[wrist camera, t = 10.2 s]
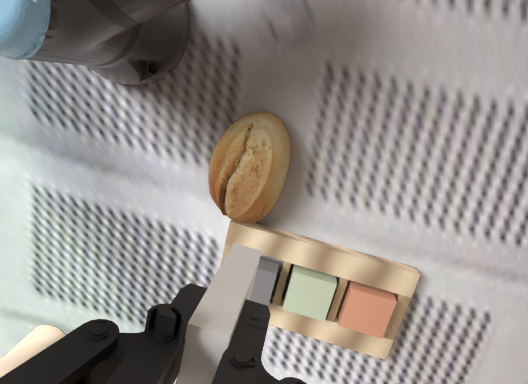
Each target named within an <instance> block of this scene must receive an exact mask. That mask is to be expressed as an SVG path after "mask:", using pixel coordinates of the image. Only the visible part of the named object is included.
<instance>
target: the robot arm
mask: <svg viewBox="0 0 528 384" xmlns="http://www.w3.org/2000/svg"><path fill="white" fill-rule="evenodd" d="M188 1H190V0H0V56H3V57H6V58H8V59H14V60H23V59H28V60H38V61H47V62H57V63H67V64H76V65H86V66H88V67H89V68H91V69H92V70H93V71H95V72H96V73H98V74H99V75H101V76H102V77H104V78H106V79H108V80H111V81H114V82H117V83H121V84H127V85H144V84H150V83H153V82H155V81H158V80H160V79H162V78H163V77H165V76H166V75H167V74H169V73H170V72H171V71H172V70H173V69H174V68H175V66H176V65H177V64H178V62H179V61H180V59H181V57H182V55H183V53H184V51H185V48H186V45H187V41H188V35H189V15H188V9H187V5H186V2H188ZM261 253H262V251H260V250H257V249H253V248H250V247H246V246H243V245H239V244H236V243H234V244H233V245H232V247H231V249H230V251H229V252H228V254H227V256H226V258H225V259H224V261H223V263H222V264H221V266H220V268H219V270H218V271H217V273H216V275H215V277H214V278H213V280H212V282H211V284H210V285H209V287H208V289H207V288H204V287H201V286H197V285H194V284H191V283H190V284H188V285H187V286H185V287H183V288H181V290H180V291H179V293H178V294H177V295H176V297H175V298H174V300H173V301H172V303H171V304H158V305H156V306H153V307H152V308H150V309H149V310H148V313H147V320H146V326H145V330H144V332H140V333H119V328H118V326H117V325H116V324H115V323H114V322H112V321H109V320H106V319H97V320H91V321H89V322H87V323H84V324H83V325H81V326H80V327H78V328H76V329H75V330H73V331H72V332H70V333H69V334H67V335H66V336H64V337H62V338H61V339H59V340H58V341H56V342H55V343H53V344H52V345H50V346H49V347H47V348H45V349H44V350H42V351H41V352H39V353H38V354H36V355H35V356H33V357H32V358H30V359H28V360H27V361H25V362H24V363H22V364H21V365H19V366H18V367H16V368H15V369H13V370H11V371H10V372H8V373H7V374H5V375H4V376H2V377H1V378H0V384H173V383H174V381H175V379H176V377H177V380H176V384H307V383H305V382H303V381H302V380H300V379H297V378H293V377H287V378H284V379H282V380H280V381H279V380H277V379H276V378H274V377H273V376H271V375H270V374H269V373H268V372H267V371H266V370H265V369H264V367H263V365H262V362H261V354H262V350H263V346H264V341H265V337H266V333H267V328H268V324H269V320H270V315H271V314H270V311H269V308H268V306H267V305H264V304H260V303H257V302H254V301H250V300H249V299H250V296H251V292H252V288H253V284H254V280H255V277H256V273H257V269H258V265H259V261H260V257H261Z"/></svg>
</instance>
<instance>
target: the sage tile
mask: <svg viewBox="0 0 528 384" xmlns="http://www.w3.org/2000/svg"><path fill="white" fill-rule="evenodd" d="M336 286H337V280H336V276H333V275H330V274H326V273H323V272H319V271H316V270H312V269H309V268H305V267H302V266H298V265H295V264H294V266H293V269H292V273H291V276H290V280H289V283H288V287H287V290H286V294H285V297H284V303H283V308H282V309H284V310H287V311H290V312H294V313H297V314H300V315H304V316H307V317H310V318H314V319H317V320H320V321H324V322H325V319H326V316H327V313H328V310H329V307H330V304H331V301H332V298H333V295H334V292H335V289H336Z"/></svg>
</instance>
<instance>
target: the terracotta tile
mask: <svg viewBox="0 0 528 384" xmlns="http://www.w3.org/2000/svg"><path fill="white" fill-rule="evenodd" d="M396 303H397V301H396V298H395V295H394V293H393V292H389V291H386V290H382V289H379V288H375V287H372V286H368V285H365V284H361V283H358V282H354V281H351V280H349V282H348V285H347V288H346V291H345V294H344V297H343V300H342V302H341V305H340V308H339V311H338V323H339V326H340V327H344V328H347V329H350V330H354V331H357V332H360V333H364V334H367V335H370V336H374V337H377V338H380V339H382V338H383V335H384V333H385V330H386V328H387V325H388V323H389V320H390V318H391V315H392V313H393V310H394V308H395V305H396Z"/></svg>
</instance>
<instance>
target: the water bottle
mask: <svg viewBox="0 0 528 384" xmlns="http://www.w3.org/2000/svg"><path fill="white" fill-rule="evenodd" d="M64 336H66V334H65V333H64V332H62V331H61V330H60V329H58V328H56V327H54V326H50V325H41V326H38V327H36V328H35V329H34V330H33V331H32V332H31V333H29V334H28V335H27V336H26V337H25V338H24V339H23V340H22V341H21V342H19V343H18V344H17V345H16V346H15V347H14V348H13V349H12V350H11V351H10V352H9V353H8V354H7V355H6V356H4V357H2V358H0V378H1V377H2V376H4V375H5V374H7V373H8V372H10V371H11V370H13V369H15V368H16V367H18V366H19V365H21V364H22V363H24V362H25V361H27V360H28V359H30V358H32V357H33V356H35V355H36V354H38V353H39V352H41V351H42V350H44V349H45V348H47V347H49V346H50V345H52V344H53V343H55V342H56V341H58V340H59V339H61V338H62V337H64Z"/></svg>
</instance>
